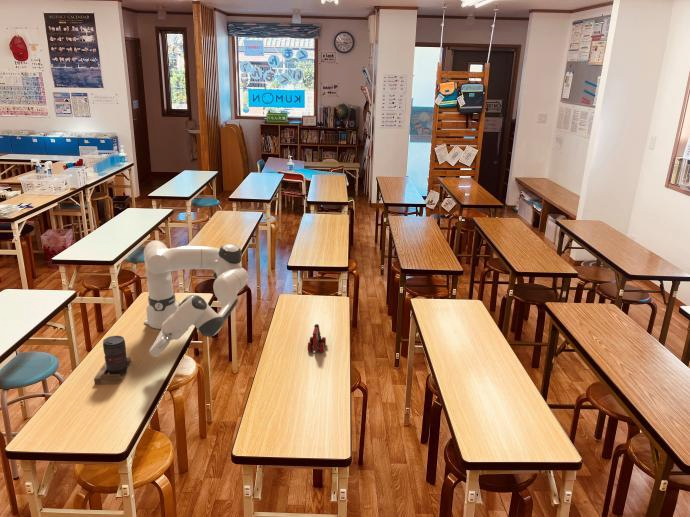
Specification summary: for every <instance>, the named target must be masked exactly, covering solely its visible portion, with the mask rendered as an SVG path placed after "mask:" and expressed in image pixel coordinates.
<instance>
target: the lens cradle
mask: <svg viewBox="0 0 690 517" xmlns="http://www.w3.org/2000/svg"><path fill="white" fill-rule="evenodd" d="M126 357H127V356H126ZM127 362H128V367H130V365H131V364H130V363H132V358H131V357H130V356H129V357H127ZM121 380H122V376H120V374H109V372H108V370H107V367H106V361H105V362H104V363H103V365H102V366H101V368H100V370H99V371H98V372H97V373H96V375H95V376H94V379H93V381H94V385H116V384H117V385H119V384H120V383H121Z"/></svg>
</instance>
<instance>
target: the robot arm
mask: <svg viewBox="0 0 690 517" xmlns="http://www.w3.org/2000/svg"><path fill="white" fill-rule="evenodd" d="M242 258H243V255H242V250H241V247H239V246H238V245H236V244H232V243H226V244H223V245H221V246H220V248H219V247H213V246H206V245H181V246H176V247H172V248H168V246H167V245H166V244H165V243H164V242H162V241H160V240H151V241H150V242H148V243H147V244H146V245H145V246H144V249H143V260H144V266H145V274H146V282H147V283H146V284H147V291H148V298H147V301H148V305H147V306H146V309H145V310H146V319H144V324H146V325H148V326H149V327H150V328H153V329H157V330H160V331H159V333H158V335H157V337H156V339H155V340H154V342H153V343H152V345H151V346H150V347H149V350H148V353H149V355H151V356H153V357H154V358H157V357H159V355H161V354H162V353H163V352H164V351H165V350H166V349H167V347H168V346H169V345H170V342H171V341H174V340H180V339H181V337H183V335H184V334H186V332H187V331H188V330H189V328H190V327H192V326H194V327H196V329H197V330H198V332H199V333H200V334H201V335H202V336H203V337H206V338H207V337H208V338H213V337H214V336H215V335H217V334H218V333H219V332H220V331H221V329H222V327H223V326H224V324H225V322H226V321H227V319H228V318H229V317H230V315H231V313H232V312H233V310H234V309H235V308H236V306H237V304H238V302H239V299H238V293H239V292H240V291H242V290H243V289H244V288H245V286H246V285H247V283H248V281H249V273H248V271H247V270H246V269H245V268H243V267H242V260H243V259H242ZM179 270H212V271H214V273H213V274H212V275H213V278H215V280H214V282H213V286H212V287H213V294H214V295H215V297H216V298H217V300H218V301H219V304H220V306H221V310H219V312H218V313H217V312H216V311H215V310H214V309H213V308H212V307H211V306H210V305H209V304H208V303H207V302H206V300H205V298H203V297H202V296H200V295H199V294H196V295H195V294H192V295H191V294H190V295H188V296H186V297H185V298H184V299H183V300H182V301H181V302H180V301H179V300H178V299H177V298H176V295H175V294H176V289H175V290H174V286H173V276H172V272H173V271H179Z"/></svg>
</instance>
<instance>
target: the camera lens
mask: <svg viewBox="0 0 690 517" xmlns="http://www.w3.org/2000/svg"><path fill="white" fill-rule="evenodd" d="M102 343H103V344H102V347H103V353H104V361H105V362H106V367H107V370H108V372H109V373H108V374H120V376H121V377H123V376H124V375H127V372H128V368H129V366H128V362H127V351H126V350H127V348H126V347H127V346H126V341H125V338H124V337H123V336H121V335H110V336H108V337H106V338H104V339H103V341H102Z"/></svg>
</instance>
